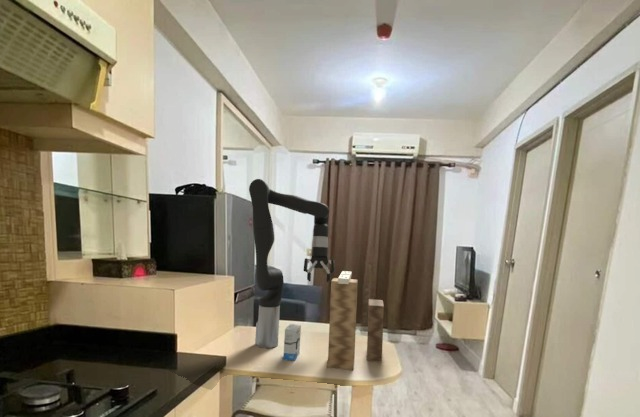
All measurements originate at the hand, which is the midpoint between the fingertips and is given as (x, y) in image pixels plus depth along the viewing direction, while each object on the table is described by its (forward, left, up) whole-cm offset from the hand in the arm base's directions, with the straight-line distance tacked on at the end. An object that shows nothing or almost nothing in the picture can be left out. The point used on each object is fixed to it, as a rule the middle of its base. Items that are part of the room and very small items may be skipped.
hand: (318, 281), depth 156 cm
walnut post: (+28, +1, -28) cm, 39 cm away
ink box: (0, -20, -28) cm, 34 cm away
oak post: (+19, -14, -28) cm, 37 cm away
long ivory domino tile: (+18, -11, +4) cm, 22 cm away
